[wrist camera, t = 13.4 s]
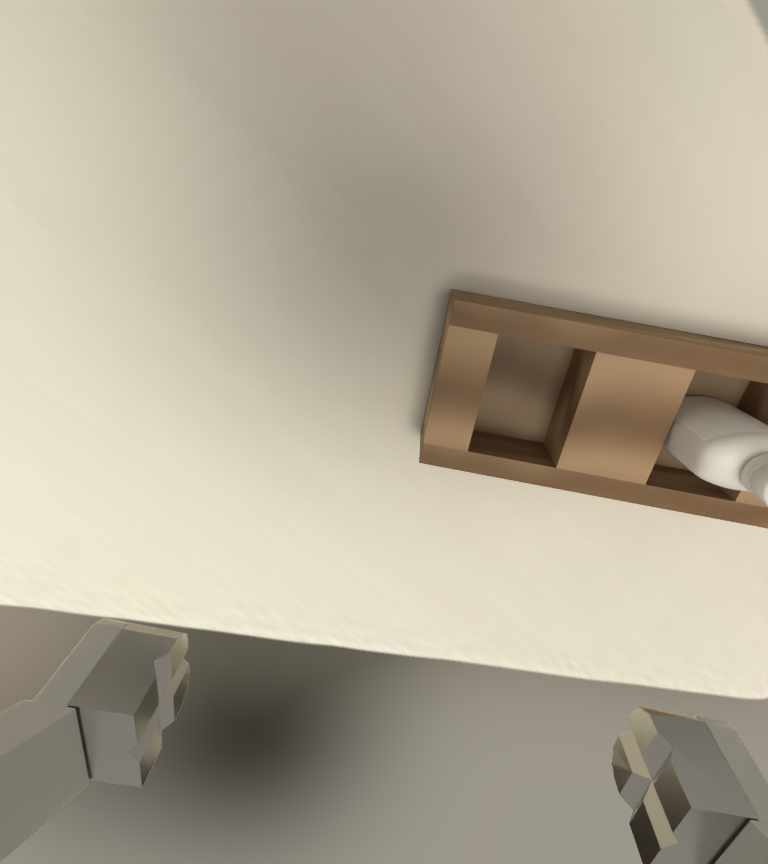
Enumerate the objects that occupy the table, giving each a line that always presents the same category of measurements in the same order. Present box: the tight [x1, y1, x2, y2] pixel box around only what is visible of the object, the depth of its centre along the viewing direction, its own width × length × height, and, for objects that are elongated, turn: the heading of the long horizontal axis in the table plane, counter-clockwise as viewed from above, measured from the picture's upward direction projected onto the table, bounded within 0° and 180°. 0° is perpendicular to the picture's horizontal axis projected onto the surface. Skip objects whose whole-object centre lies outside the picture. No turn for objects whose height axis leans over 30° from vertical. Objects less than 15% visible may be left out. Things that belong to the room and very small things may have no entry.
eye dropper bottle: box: [663, 396, 768, 506], centre depth 29 cm, size 4×6×12 cm
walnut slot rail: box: [419, 290, 768, 528], centre depth 33 cm, size 11×24×5 cm, turn 81°
